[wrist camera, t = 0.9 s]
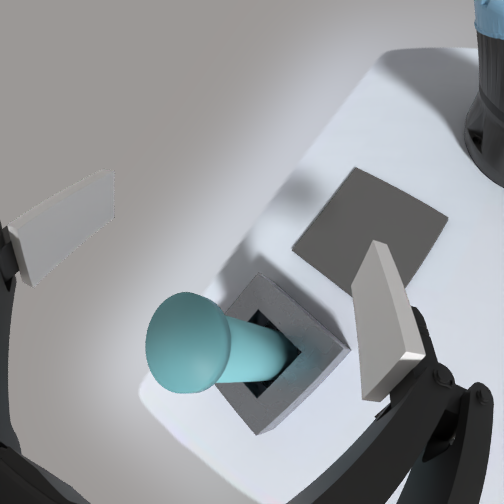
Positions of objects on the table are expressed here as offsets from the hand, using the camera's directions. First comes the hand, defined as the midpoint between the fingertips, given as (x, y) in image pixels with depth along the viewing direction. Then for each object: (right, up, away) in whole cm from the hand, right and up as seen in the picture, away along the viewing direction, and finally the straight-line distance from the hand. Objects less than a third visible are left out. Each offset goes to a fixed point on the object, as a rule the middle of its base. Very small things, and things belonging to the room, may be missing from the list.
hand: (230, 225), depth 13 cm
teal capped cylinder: (+4, -13, +19) cm, 24 cm away
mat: (+15, +1, +18) cm, 24 cm away
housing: (+4, -13, +19) cm, 24 cm away
